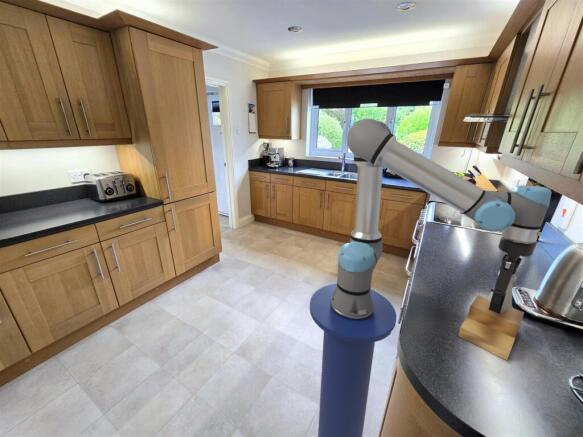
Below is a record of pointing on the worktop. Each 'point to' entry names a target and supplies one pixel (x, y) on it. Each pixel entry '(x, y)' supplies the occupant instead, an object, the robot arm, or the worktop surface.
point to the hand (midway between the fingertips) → (498, 303)
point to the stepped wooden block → (491, 327)
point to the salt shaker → (508, 297)
